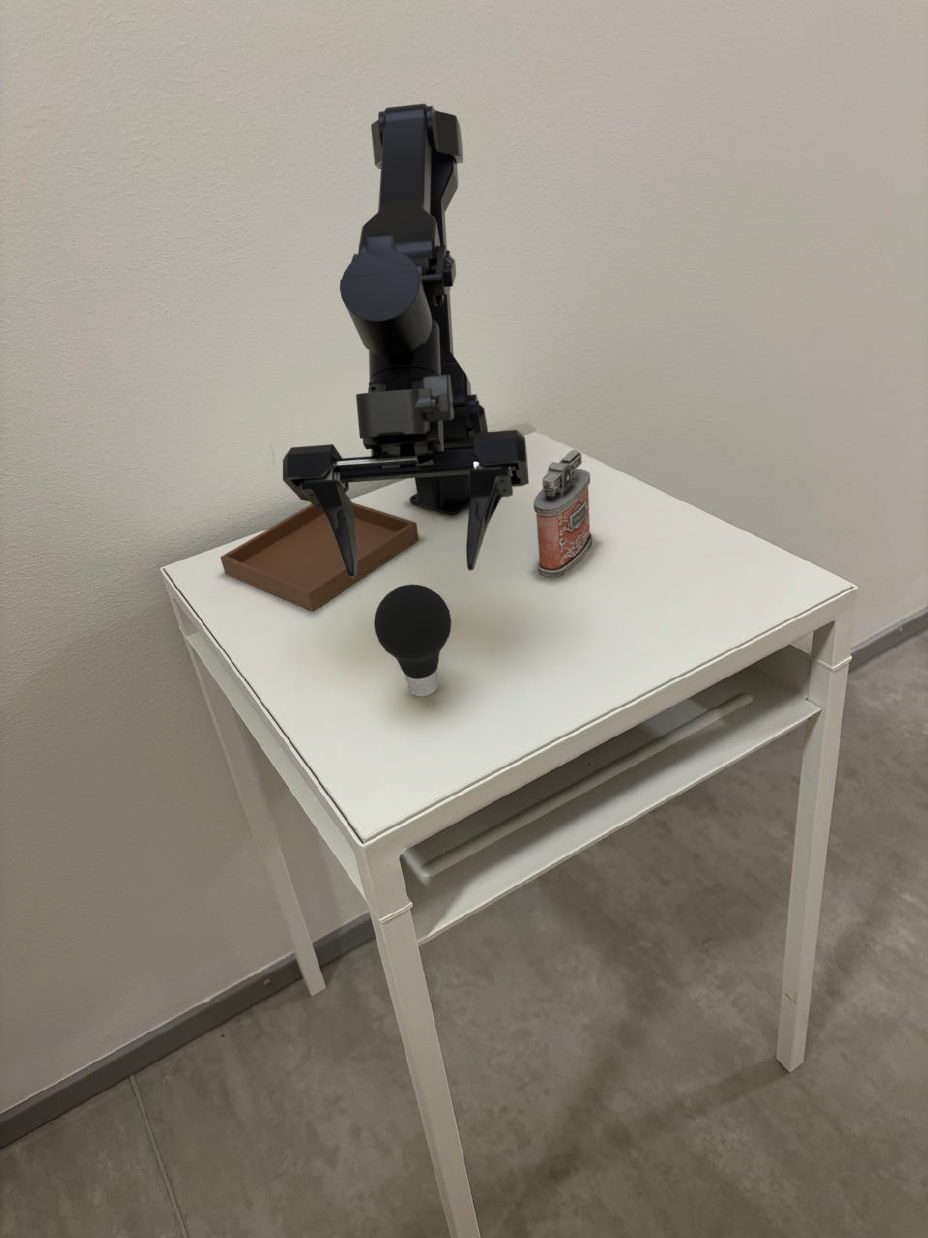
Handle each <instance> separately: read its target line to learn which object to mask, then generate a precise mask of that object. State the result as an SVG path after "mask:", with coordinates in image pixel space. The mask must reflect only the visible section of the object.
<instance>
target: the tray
mask: <svg viewBox="0 0 928 1238" xmlns="http://www.w3.org/2000/svg"><path fill="white" fill-rule="evenodd" d="M352 504H353V515H354V527H355V539H356V551H357V573H356V578H351V577H350V576H349V575H348V572H347V569H346V566H345V563H344V561H343V558H342V555H341V552H340V549H339V546H338V543H337V541H336V538H335V535H334V532H333V529H332V527H331V524H330V522H329V520H328V518H327V516H326V514H325V512H324V510H319V509H316V508H315V506H314V505H313V504H312V503H311V504H308V505H307V506H306V507H304V508H301V510H298V511H296V512H295V513H293V514H292V515H290V516H288V517H287V518H284V519H283V520H282V521H280V522H278V523H277V524H275V525H273V526H271V527H269V528H268V529H266V530H264V531H263V532H261V533H259V534H257V535H256V536H254V537H253V538H252V537H251V538H250V539H249V540H247V541H246V542H244V543H242V544H240V545H239V546H237V547H235V548H233V549H231V550H230V551H229V552H226V553H225V554H223V555H221V556H220V562H221V565H222V568H223V571H224V574H225V575H227V576H229V577H232V578H234V579H237V580H239V581H241V582H243V583H246V584H247V585H249V586H253V587H255V588H258V589H259V590H262V591H264V592H267V593H268V594H271V595H273V596H276V597H278V598H281V599H283V600H285V601H287V602H290V603H292V604H295V605H297V606H299V607H301V608H304V609H307V610H309V611H311V612H314V611H315V610H317V609H319V608H320V607H321V606H324V604H325V603H328V602H329V601H330V600H332V599H333V598H334V597H336V596H338V595H339V594H341V593H342V592H344V591H345V590H347V589H348V588H350V587H351V586H353V585H354V584H355V583H358V581H360V580H362V579H363V578H364V577H366V576H367V575H368V574H370V573H371V572H374V571H375V570H376V569H377V568H379V567H381V566H382V565H384V564H385V563H387V562H388V561H389V560H391V559H392V558H394V557H395V556H397V555H399V554H400V553H401V552H403V551H404V550H405V549H407V548H408V547H410V546H412V545H413V544H414V543H416V542H417V541H419V539H420V537H419V531H418V525H417V522H416V521H412V520H409V519H406V518H402V517H401V516H397V515H394V514H390V513H387V512H384V511H381V510H378V509H376V508H372V507H369V506H367V505H363V504H359V503H356V502H353V501H352Z"/></svg>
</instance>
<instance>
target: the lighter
mask: <svg viewBox="0 0 928 1238" xmlns="http://www.w3.org/2000/svg"><path fill="white" fill-rule="evenodd" d="M582 458H583V457H582V452H580V450H578V449H571V450H570V451H569V452H568V453H566V454H565V456H563V457H562V458H561V460H560V461H558V462H553V461H552V462H551V463H550V464H549V465H548V469H547V472H546V473H545V474H544V475H543V477H542V489H540V491H539V492H538V494H537V495H536V497H535V498H534V500H533V511H534V512H535V513H536V526H537V527H536V528H537V544H538V557H539V561H538V563H537V573H538V575H539V576H540V577H542V578H544V579H548V580H558V579H561V578H563V577H564V576H566V575H567V574H568V573H570V572H571V571H573V570H574V569H575V568H576V567H577V566H578V565H579V564H580V563H582V561H583V560H584V559H585V558H586V556H587V555H588V553H589V551H590V549H591V547H592V546H593V534H592V533H591V530H590V529H591V527H590V498H589V497H590V495H589V486H590V484H591V473H590V472H589V471H588V470H586V469H582V468H579V467H580V466H581V465H582V464H583V461H582Z"/></svg>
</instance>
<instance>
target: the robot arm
mask: <svg viewBox="0 0 928 1238" xmlns="http://www.w3.org/2000/svg"><path fill="white" fill-rule="evenodd" d="M370 131H371V139H372V150H373V160H374V166H375V167H376V168H377V169H378V170H379V169H381V171H380V176H379V177H380V178H379V193H378V206H377V207H378V208H377V212H376V213H375V214H374V215H373V216H372V217H371V218H370V219H369V220H368V221H366V222H365V223H364V224H363V225H362V227H361V230H360V237H359V242H358V243H359V244H358V253H353V255H352V258H351V260H350V263H349V264H348V265H347V267H346V269H345V270H344V272H343V274H342V277H341V279H340V281H339V292H340V297H341V299H342V301H343V303H344V306H345V308H346V310H347V312H348V314H349V317H350V319H351V322H352V323H353V325H354V327H355V329H356V332H357V334H358V336H359V338H360V340H361V342H362V345H363V347H364V348H365V349H366V350H368V370H369V373H368V374H369V381H368V388H367V389H368V391H367V392H363V393H362V392H361V393H357V394H355V401H356V410H357V412H356V413H357V423H358V434H359V435H358V436H359V439H360V440H362V445H363V446H364V448H365V449H366V450H370V454H371V455H370V456H356V457H345V458H344V457H343V456H342V455H341V454H340V452H339V450H338V449H337V448H336V446H335V445H334V444H333V443H331V444H318V445H317V444H316V445H306V446H304V445H303V446H291V447H289V450H288V451H287V452H286V453H285V455H284V457H283V459H282V481H283V482H284V483H285V484H286V485H287V486H288V488H290V490H291V491H292V492H293V493H294V494H295V495H296V496H297V497H298V498H299V499H300V501H305V502H310V503H311V504H313V505H314V506H315V508H316V509H319V510H324V512H325V514H326V516H327V518H328V520H329V522H330V524H331V527H332V529H333V532H334V535H335V538H336V541H337V543H338V546H339V549H340V552H341V555H342V558H343V561H344V563H345V566H346V569H347V572H348V575H349V576H350V577H351V578H356V573H357V551H356V539H355V527H354V515H353V504H352V502H353V501H352V500H351V499H350V497H349V496H348V495H347V492H348V491H349V490H350V483H362V482H363V483H365V482H375V481H389V480H390V481H391V480H404V479H414V482H415V490H416V491H415V492H416V493H415V494H413V495H412V496H410V497H409V503H410V504H411V505H415V506H417V507H421V508H425V509H428V510H431V511H434V512H438V513H441V514H443V515H448V516H456V515H458V514H459V513H461V512H462V511H464V510H466V509H467V508H468V517H467V518H468V519H467V530H466V532H467V533H466V542H465V543H466V544H465V554H466V567H467V570H468V571H469V572H470V571H474V570H475V566H476V564H477V561H478V558H479V554H480V552H481V547H482V545H483V541H484V538H485V536H486V532H487V530H488V527H489V524H490V521H491V519H492V518H493V515H494V513H495V511H496V510H497V507H498V505H499V503H500V500H501V499H502V498H510V497H512V496H513V495H514V489H513V488H515V487H517V488H518V487H523V486H527V485H528V484H530V482H529V464H528V462H529V461H528V453H527V443H526V437H525V436H524V435H523V434H522V433H521V432H520V431H519V430H518V429H511V430H509V429H508V430H497V431H489V429H488V428H489V427H488V422H487V421H488V420H487V416H486V410H485V407H483V406H482V405H481V403H480V400H479V399H478V394H476V393H473V394H472V386H471V382H470V379H469V378H468V376H467V374H466V372H465V370H464V369H463V368H462V366H461V364H460V363H459V362H458V360H457V358H456V357H455V356H454V355H455V354H454V353H455V352H454V338H453V337H454V336H453V321H452V320H453V319H452V308H451V305H452V304H451V287H454V283H455V280H456V277H457V265H456V264H457V263H456V260H455V259H454V258H453V256H451V251H450V250H448V244H447V243H448V242H447V226H446V211H447V209H448V207H449V205H450V204H451V202H452V200H453V198H454V197H455V194H456V192H457V190H458V187H459V172H458V171H459V170H458V164H463V163H464V150H463V149H464V148H463V138H462V129H461V124H460V122H459V119H458V117H457V115H455V114H452V113H448V112H444V111H439V110H436V109H435V107H434V106H433V105H429V106H428V105H427V104H426V103H416V104H408V105H398V106H397V105H396V106H389V107H385V109H384V110H382V111H378V115H377V120H375V121H374V122H372V123H371V125H370Z"/></svg>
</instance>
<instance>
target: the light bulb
mask: <svg viewBox="0 0 928 1238" xmlns="http://www.w3.org/2000/svg"><path fill="white" fill-rule="evenodd" d="M373 624H374V625H373V626H374V632H375V636H376V638H377V641H378V643H379V644H380V645H381V647H382V648H383V649H384V650H385V652H386V653H388V654H389V655H391V656H392V657H394V658H395V659H396V660H397V662H398V664H399V667H400V669H401V671H402V672H403V674H404V676H405V679H406V685H407V690H408V692H409V693H411V694H412V695H414V696H416V697H428V696H430V695H431V694H433V693H435V692H436V691H437V689H438V687H439V678H438V667H439V666H438V665H439V660H440V652H441V650H442V649H443V648H444V646H445V645H446V643H447V641H448V639H449V637H450V635H451V630H452V618H451V612H450V609H449V607H448V605H447V603H446V601H445V600H444V599H443V597H442V596H441V595H440V594H439V593H437V592H436V591H435V590H433V589H432V588H430V587H428V586H425V585H420V584H404V585H402V586H398V587H396V588H394V589H393V590H391V591H389V592H388V593H387V594H386V595H385V596H384V597H383V598H382V599H381V600H380V602H379V604H378V606H377V607H376V611H375V614H374V620H373Z"/></svg>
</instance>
